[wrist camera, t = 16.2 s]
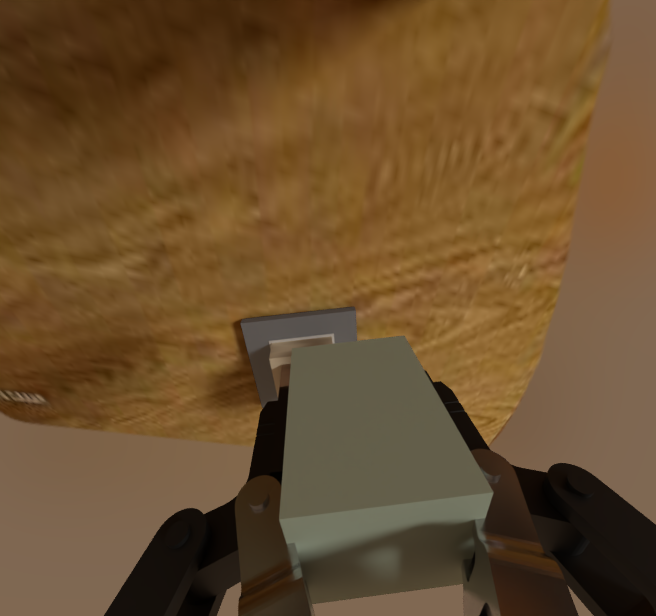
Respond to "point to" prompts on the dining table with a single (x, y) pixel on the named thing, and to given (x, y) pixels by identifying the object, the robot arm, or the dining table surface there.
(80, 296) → the dining table surface
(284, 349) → the maple slab
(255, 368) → the plate
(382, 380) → the sage block
